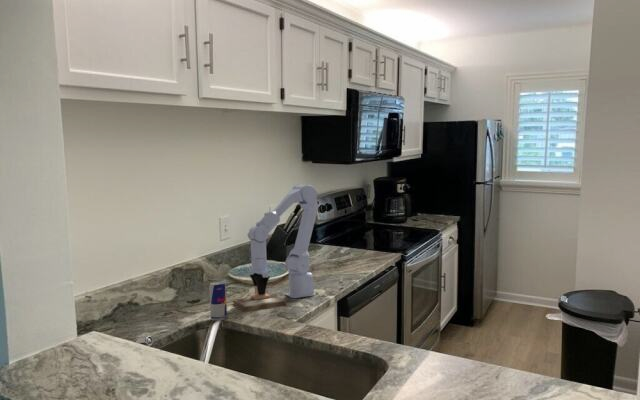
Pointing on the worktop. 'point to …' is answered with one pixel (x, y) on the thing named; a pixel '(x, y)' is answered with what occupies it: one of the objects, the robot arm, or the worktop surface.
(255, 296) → the peach plate with block
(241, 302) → the board
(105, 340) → the worktop surface
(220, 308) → the energy drink
